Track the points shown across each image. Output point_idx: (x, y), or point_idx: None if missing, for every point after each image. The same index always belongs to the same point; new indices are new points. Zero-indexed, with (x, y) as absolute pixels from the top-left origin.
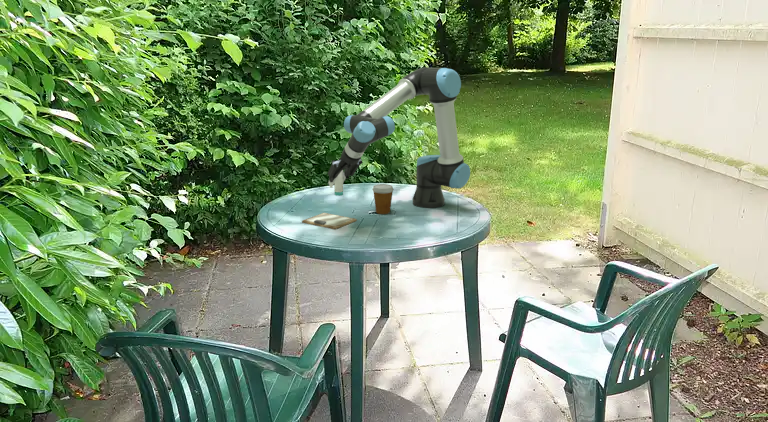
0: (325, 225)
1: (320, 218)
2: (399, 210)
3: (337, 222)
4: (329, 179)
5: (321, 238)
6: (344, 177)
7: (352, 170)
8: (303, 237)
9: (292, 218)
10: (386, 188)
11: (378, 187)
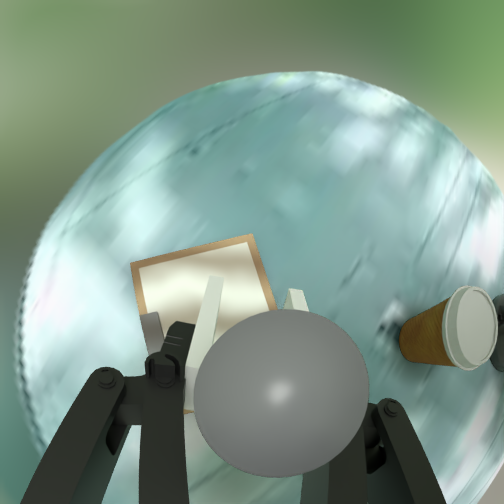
0: None
1: (192, 289)
2: None
3: None
4: (168, 334)
5: None
6: None
7: (374, 489)
8: (50, 394)
9: (143, 207)
10: (475, 363)
11: (467, 320)
